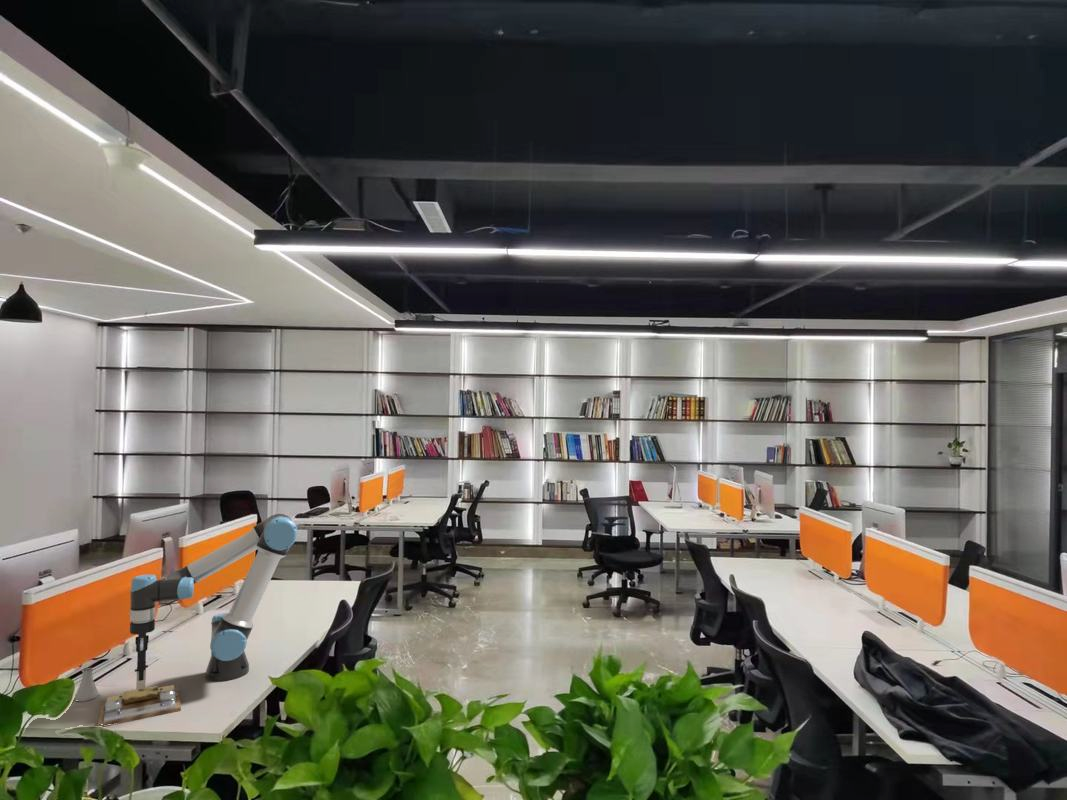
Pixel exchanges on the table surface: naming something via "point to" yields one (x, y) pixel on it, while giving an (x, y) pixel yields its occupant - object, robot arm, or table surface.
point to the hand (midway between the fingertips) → (140, 688)
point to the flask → (86, 687)
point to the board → (140, 704)
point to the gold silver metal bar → (140, 694)
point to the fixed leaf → (115, 707)
